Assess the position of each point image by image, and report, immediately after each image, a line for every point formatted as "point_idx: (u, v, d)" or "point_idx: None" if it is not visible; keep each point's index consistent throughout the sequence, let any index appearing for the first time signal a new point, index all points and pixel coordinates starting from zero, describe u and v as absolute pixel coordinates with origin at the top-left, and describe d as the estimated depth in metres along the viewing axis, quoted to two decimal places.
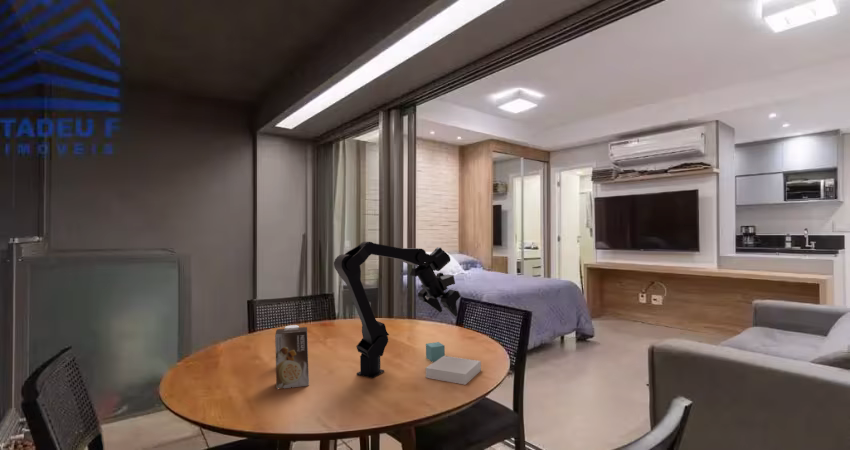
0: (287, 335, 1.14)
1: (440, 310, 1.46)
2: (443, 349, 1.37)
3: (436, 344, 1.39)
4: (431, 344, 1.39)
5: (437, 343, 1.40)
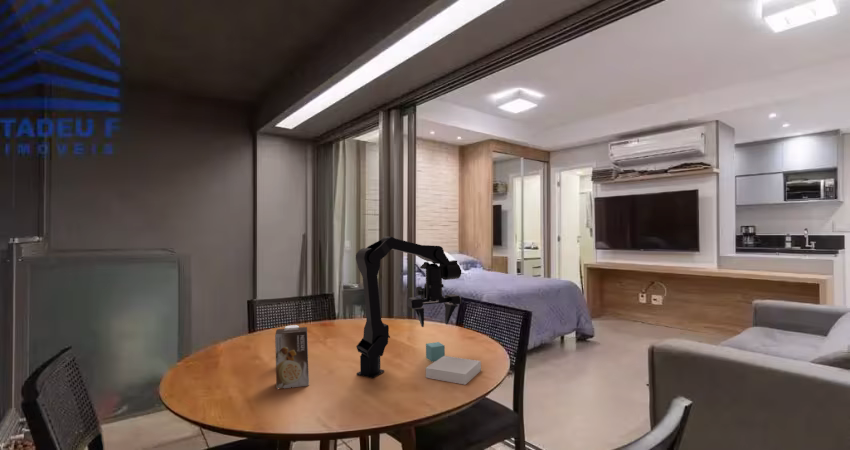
0: (287, 335, 1.14)
1: None
2: (443, 349, 1.37)
3: (436, 344, 1.39)
4: (431, 344, 1.39)
5: (437, 343, 1.40)
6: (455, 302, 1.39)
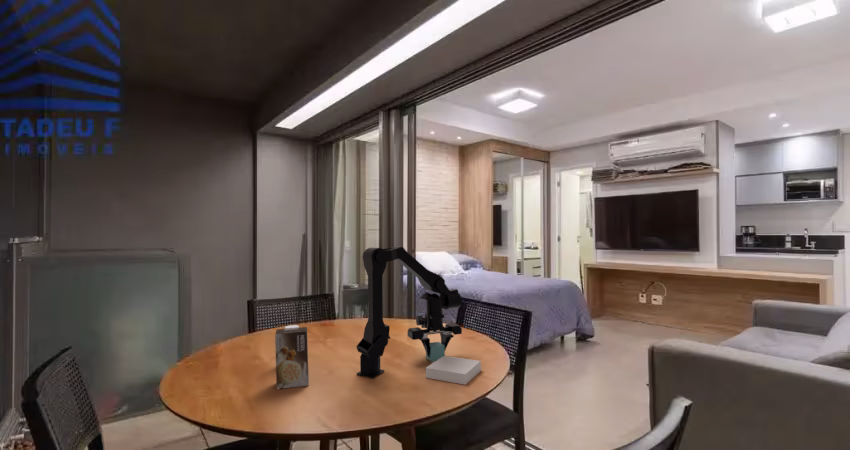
0: (287, 335, 1.14)
1: None
2: (443, 349, 1.37)
3: (436, 344, 1.39)
4: (431, 344, 1.39)
5: (437, 343, 1.40)
6: (456, 332, 1.39)
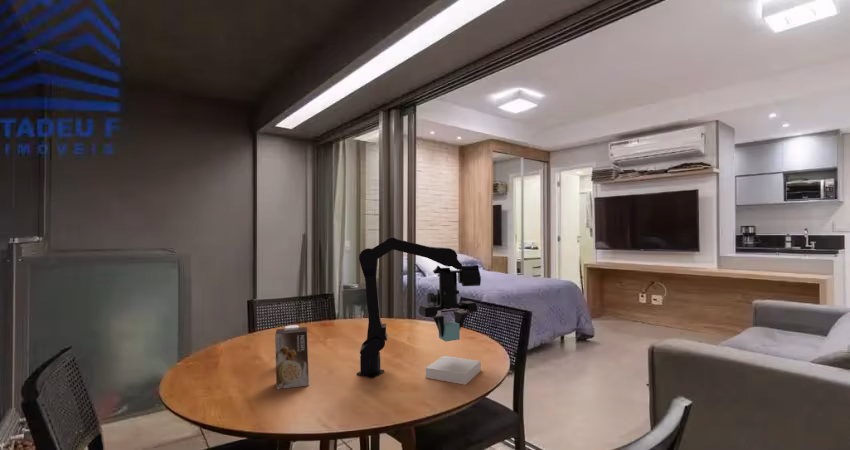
0: (287, 335, 1.14)
1: None
2: (458, 328, 1.26)
3: (450, 323, 1.27)
4: (444, 322, 1.28)
5: (451, 322, 1.29)
6: (471, 310, 1.27)
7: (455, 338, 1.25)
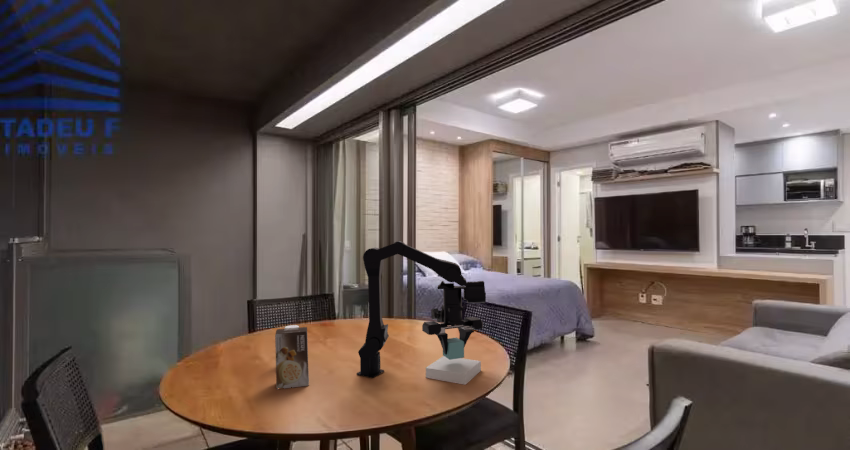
0: (287, 335, 1.14)
1: None
2: (462, 345, 1.22)
3: (454, 340, 1.23)
4: (449, 340, 1.24)
5: (455, 339, 1.25)
6: (476, 327, 1.23)
7: (459, 356, 1.22)
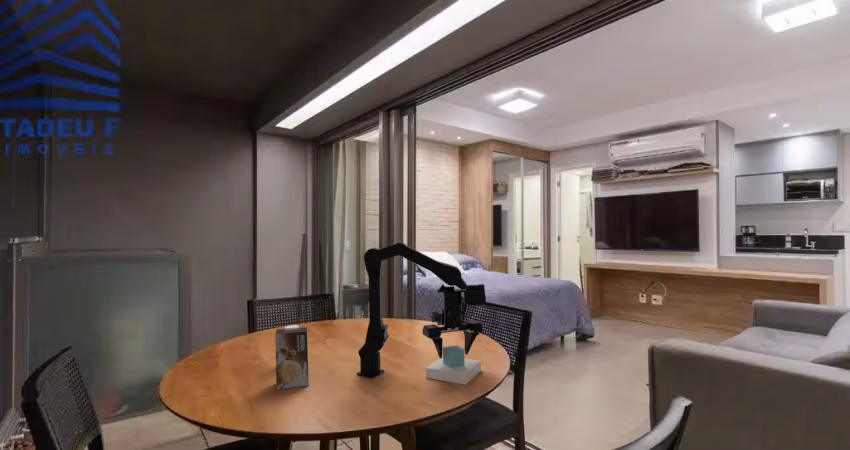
0: (287, 335, 1.14)
1: None
2: (463, 353, 1.22)
3: (455, 348, 1.23)
4: (449, 348, 1.24)
5: (455, 346, 1.25)
6: (477, 330, 1.23)
7: (460, 364, 1.21)
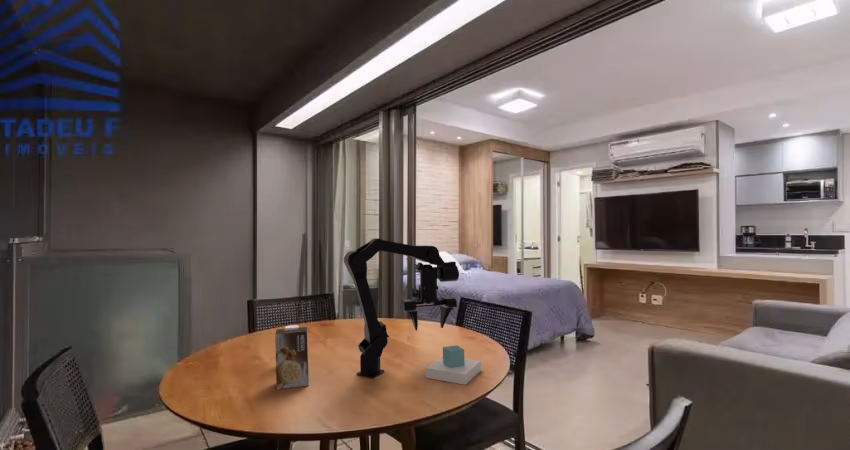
0: (287, 335, 1.14)
1: None
2: (463, 353, 1.22)
3: (455, 348, 1.23)
4: (449, 348, 1.24)
5: (455, 346, 1.25)
6: (450, 305, 1.33)
7: (460, 364, 1.21)
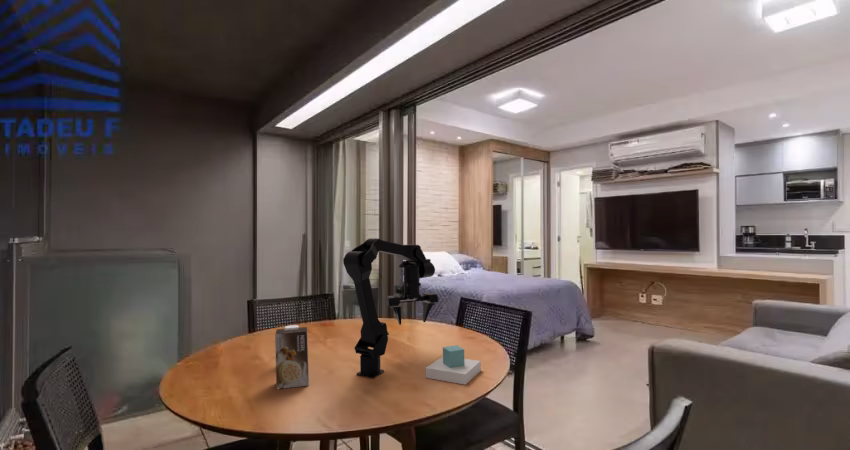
0: (287, 335, 1.14)
1: None
2: (463, 353, 1.22)
3: (455, 348, 1.23)
4: (449, 348, 1.24)
5: (455, 346, 1.25)
6: (432, 300, 1.41)
7: (460, 364, 1.21)
